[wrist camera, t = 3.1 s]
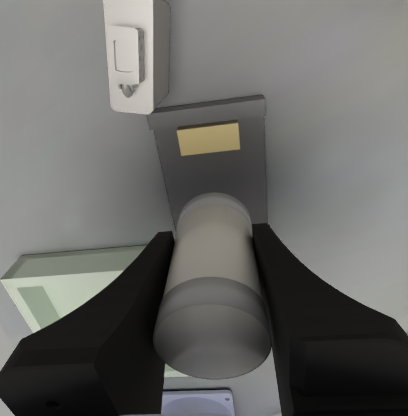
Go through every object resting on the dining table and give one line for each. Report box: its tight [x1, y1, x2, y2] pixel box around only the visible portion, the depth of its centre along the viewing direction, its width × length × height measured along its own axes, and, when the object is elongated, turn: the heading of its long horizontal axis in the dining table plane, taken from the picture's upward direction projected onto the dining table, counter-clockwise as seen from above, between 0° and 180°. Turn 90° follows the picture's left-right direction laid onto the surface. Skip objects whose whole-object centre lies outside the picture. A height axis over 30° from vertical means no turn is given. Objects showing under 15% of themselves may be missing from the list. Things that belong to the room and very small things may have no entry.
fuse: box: [153, 192, 272, 379], centre depth 12 cm, size 4×4×6 cm
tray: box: [0, 245, 188, 377], centre depth 23 cm, size 12×12×2 cm
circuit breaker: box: [103, 0, 170, 115], centre depth 11 cm, size 7×2×8 cm, turn 175°
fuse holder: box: [146, 95, 268, 230], centre depth 18 cm, size 10×6×1 cm, turn 8°
